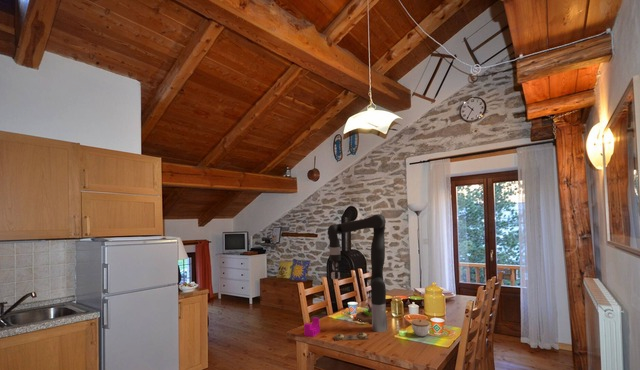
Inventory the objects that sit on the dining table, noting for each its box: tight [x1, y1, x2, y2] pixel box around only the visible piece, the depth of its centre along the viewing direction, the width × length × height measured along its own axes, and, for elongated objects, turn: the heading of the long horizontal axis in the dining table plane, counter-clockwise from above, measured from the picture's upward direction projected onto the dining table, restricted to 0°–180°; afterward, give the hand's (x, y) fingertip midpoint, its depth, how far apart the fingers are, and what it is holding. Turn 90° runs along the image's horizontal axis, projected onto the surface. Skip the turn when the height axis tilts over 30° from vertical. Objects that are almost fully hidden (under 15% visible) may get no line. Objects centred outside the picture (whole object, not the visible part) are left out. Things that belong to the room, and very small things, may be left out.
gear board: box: [333, 332, 370, 342], centre depth 216 cm, size 21×6×3 cm, turn 95°
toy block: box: [303, 316, 321, 338], centre depth 228 cm, size 15×6×8 cm, turn 156°
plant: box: [355, 302, 372, 324], centre depth 254 cm, size 20×20×11 cm
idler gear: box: [330, 271, 341, 280], centre depth 242 cm, size 6×5×4 cm
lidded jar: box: [411, 318, 430, 337], centre depth 220 cm, size 11×11×9 cm
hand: (335, 277), depth 244 cm, fingers open, 8 cm apart
